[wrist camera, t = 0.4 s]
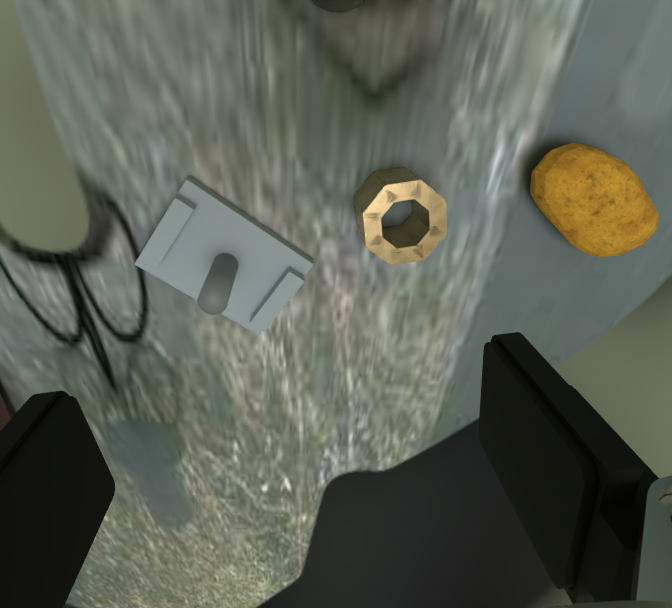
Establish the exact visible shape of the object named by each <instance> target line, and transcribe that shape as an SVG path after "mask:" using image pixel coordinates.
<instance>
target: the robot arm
mask: <svg viewBox="0 0 672 608" xmlns="http://www.w3.org/2000/svg"><path fill="white" fill-rule="evenodd" d="M479 438H480V442H481V445H482V447H483V449H484V451H485V453H486V455H487V457H488V459H489V461H490V463H491V465H492V467H493V469H494V471H495V473H496V474H497V476H498V478H499V480H500V482H501V484H502V486H503V488H504V490H505V492H506V494H507V496H508V497H509V500H510V501H511V503H512V505H513V507H514V509H515V511H516V513H517V515H518V517H519V519H520V521H521V523H522V524H523V527H524V528H525V530H526V532H527V534H528V536H529V538H530V540H531V542H532V544H533V546H534V548H535V550H536V551H537V553H538V555H539V557H540V559H541V561H542V563H543V565H544V567H545V569H546V571H547V573H548V575H549V577H550V579H551V580H552V582H553V584H554V585H555V586H556V587H557V588H558V589H563V588H565V590H566V592H567V594H568V596H569V598H570V600H571V601H572V603H573V604H571V605H563V606H555V607H547V608H672V476H668V477H663V478H658V477H657V476H656V475H655V474H654V473H653V472H652V471H651V469H650V468H649V467H648V466H647V465H646V464H645V463H644V462H643V461H642V460H641V459H640V458H639V457H638V455H636V453H635V452H634V451H633V450H632V449H631V448H630V447H629V446H628V445H627V444H626V443H625V442H624V440H622V438H621V437H620V436H619V435H618V434H617V433H616V432H615V431H614V430H613V429H612V428H611V427H610V426H609V425H608V424H607V422H606V421H605V420H604V419H603V418H602V417H601V416H600V415H599V414H598V413H597V412H596V410H595V409H594V408H593V407H592V406H591V405H590V404H589V403H588V402H587V401H586V400H585V399H584V398H583V397H582V396H581V394H580V393H579V392H578V391H577V390H576V389H574V388H573V387H572V386H570V385H568V384H567V383H566V381H564V379H563V378H562V377H561V376H560V375H559V374H558V373H557V372H556V371H555V369H554V368H553V367H552V366H551V365H550V364H549V363H548V362H547V361H546V360H545V359H544V358H543V357H542V355H541V354H540V353H539V352H538V351H537V350H536V349H535V348H534V347H533V346H532V345H531V344H530V342H529V341H528V340H527V339H526V338H525V337H524V336H523V335H522V334H521V333H519V332H516V333H508V334H500V335H494V336H493V337H492V339H491V342H487V343H485V345H484V353H483V369H482V385H481V401H480V417H479ZM114 492H115V483H114V479H113V477H112V475H111V473H110V470H109V468H108V466H107V464H106V462H105V460H104V457H103V455H102V453H101V451H100V449H99V447H98V444H97V442H96V440H95V438H94V436H93V434H92V431H91V429H90V427H89V425H88V423H87V421H86V418H85V416H84V414H83V412H82V410H81V408H80V405H79V403H78V401H77V400H76V398H75V397H73V396H69V395H68V394H67V393H66V392H65V391H56V392H48V393H40V394H35V395H33V396H31V397H30V398H29V399H28V400H27V402H26V403H25V404H24V405H23V406H22V407H21V408H20V410H19V411H18V412H17V413H16V414H15V415H14V416H13V418H12V419H11V420H10V421H9V422H8V423H7V424H6V426H5V427H4V428H3V429H2V430H1V431H0V608H63V607H64V605H65V602H66V600H67V598H68V596H69V594H70V591H71V589H72V587H73V585H74V583H75V580H76V578H77V576H78V574H79V572H80V569H81V567H82V565H83V563H84V561H85V558H86V556H87V554H88V552H89V549H90V547H91V545H92V543H93V541H94V538H95V536H96V534H97V532H98V530H99V527H100V525H101V523H102V521H103V519H104V516H105V514H106V512H107V510H108V508H109V505H110V503H111V501H112V499H113V496H114Z"/></svg>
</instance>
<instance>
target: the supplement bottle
mask: <svg viewBox="0 0 672 608" xmlns="http://www.w3.org/2000/svg"><path fill="white" fill-rule="evenodd" d="M312 1H313V2H314V3H315V4H316V5H318V6H319V7H321V8H323V9H326V10H328V11H333V12H345V11H349V10H352V9H354V8H356V7H358V6H360V5H361V4H362V3H364V2H365V1H366V0H312Z"/></svg>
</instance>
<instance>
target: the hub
mask: <svg viewBox="0 0 672 608" xmlns="http://www.w3.org/2000/svg"><path fill="white" fill-rule="evenodd" d="M411 199H412V203H413V212H412V213H411V214H410V216H409V217H408V218H407V219H406V220H405V222H404V223H403V224H402V225H400V226H393V227H387V228H384V227H383V226H381V218H382V216H383V215H384V214H385V213H386V211H387V210H388V209H389V208H390V207H391V205H392V204H393V203H394V202H398V201H404V200H411ZM354 202H355V211H356V220H357V227H358V229H359V231H360V234H361V236H362V238H363V240H364V243H365V245H366V247H367V248H368V249H370V250H371V251H373V252H374V253H375V254H377V255H378V256H379V257H381V258H382V259H384V260H385V261H386V262H388V263H389V264H390V265H391V264H392V265H396V264H402V263H409V262H415V261H422V260H423V259H425V258H426V257H427V256H428V255H429V254H430V253H431V252H432V250H433V249H434V248H435V247H436V246H437V245H438V244H439V243H440V241H441V240H442V239H443V238H444V237H445V236H446V234H447V214H446V200H444V199H443V198H442V197H441V196H440V195H438V194H437V193H436V192H435V191H434V190H432V189H431V188H430V187H429V186H428V185H427V184H425V183H424V182H423V181H422V180H421V179H419V178H418V177H417V176H416V175H414V174H413V173H412V172H411V171H409V170H408V169H407V168H406V167H399V168H392V169H386V170H379V171H374V172H373V173H372V174H371V175H370V177H369V178H368V179H367V180H366V182H365V183H364V184H363V186H362V187H361V188H360V189H359V191H358V192H357V193H356V195H355V196H354Z"/></svg>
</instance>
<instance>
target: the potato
mask: <svg viewBox="0 0 672 608" xmlns="http://www.w3.org/2000/svg"><path fill="white" fill-rule="evenodd" d="M530 193H531V195H532V197H533V199H534V201H535V203H536V205H537V207H538V208H539V209H540V210H541V211H542V212H543V214H544V215H545V216H546V217H547V218H548V219H549V220H550V221H551V223H552V224H553V225H554V226H555V227H556V228H557V229H558V230H559V231H560V233H561V234H562V235H563V236H564V237H565V238H566V239H567V240H568V241H569V243H570V244H572V245H573V246H575V247H577V248H578V249H580V250H582V251H583V252H586V253H588V254H591V255H594V256H597V257H607V256H617V255H621V254H623V253H626V252H628V251H630V250H632V249H634V248H636V247H638V246H640V245H642V244H643V243H644V242H645V241H646V240H647V239H648V238H649V237H650V236H651V235H652V234H653V233H654V232H655V231H656V230H657V224H658V216H659V215H658V213H657V210H656V208H655V206H654V205H653V202H652V201H651V199H650V197H649V195H648V194H647V193H646V191H645V189H644V187H643V185H642V183H641V180H640V179H639V177H638V176H637V175H636V174H635V172H634V171H633V170H632V169H631V168H630V167H629V166H628V164H627V163H625V162H623V161H621V160H619V159H618V158H616V157H614V156H612V155H610V154H608V153H606V152H604V151H602V150H600V149H598V148H595V147H592V146H589V145H584V144H579V143H570V144H567V145H564V146H561V147H558V148H555V149H553V150H551V151H550V152H548V153H547V154H546V155H545V156H544V157H543V158H542V160H541V161H540V162H539V163H538V165H537V166H536V167H535V169H534V170H533V171H532V175H531V186H530Z"/></svg>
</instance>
